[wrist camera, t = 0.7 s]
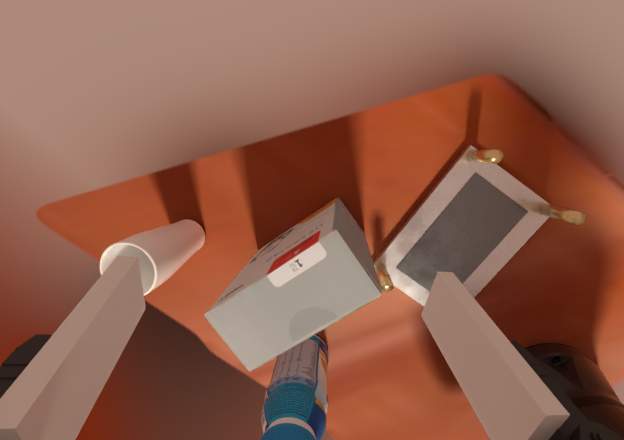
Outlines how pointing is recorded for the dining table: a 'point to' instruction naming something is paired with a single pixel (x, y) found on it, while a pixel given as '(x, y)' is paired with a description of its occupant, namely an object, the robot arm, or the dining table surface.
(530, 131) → the dining table surface
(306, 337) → the hard drive box
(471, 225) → the mounting plate
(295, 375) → the beverage bottle
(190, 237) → the drinking glass
